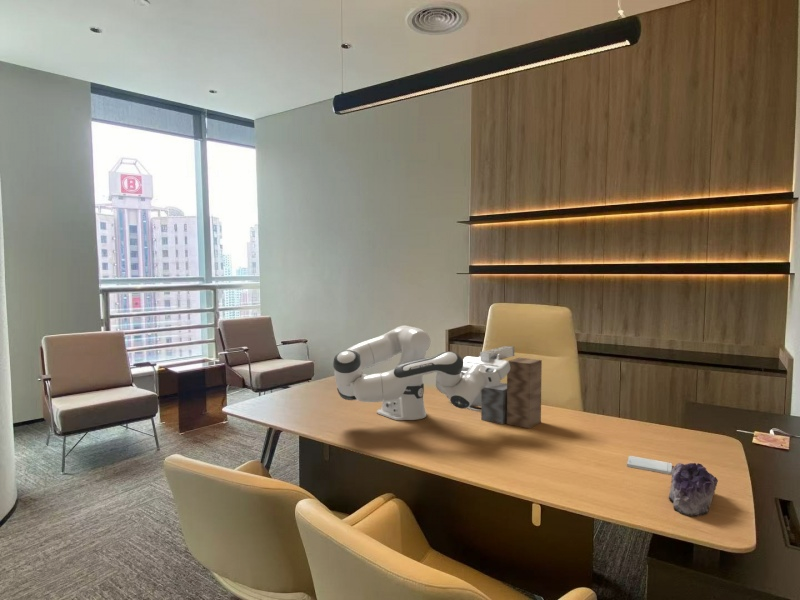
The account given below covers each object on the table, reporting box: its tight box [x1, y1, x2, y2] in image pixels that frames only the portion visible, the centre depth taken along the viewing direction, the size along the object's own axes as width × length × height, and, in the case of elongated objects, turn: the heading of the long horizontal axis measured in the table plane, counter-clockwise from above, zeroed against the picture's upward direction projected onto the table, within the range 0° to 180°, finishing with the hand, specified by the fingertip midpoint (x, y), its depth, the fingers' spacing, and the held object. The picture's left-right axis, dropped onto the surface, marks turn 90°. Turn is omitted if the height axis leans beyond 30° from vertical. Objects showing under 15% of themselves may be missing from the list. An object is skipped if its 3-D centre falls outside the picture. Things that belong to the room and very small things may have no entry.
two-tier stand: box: [480, 357, 543, 429], centre depth 199 cm, size 21×12×26 cm, turn 51°
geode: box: [668, 462, 719, 518], centre depth 127 cm, size 20×12×10 cm, turn 146°
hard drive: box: [626, 455, 673, 476], centre depth 151 cm, size 2×8×12 cm
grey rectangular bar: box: [479, 345, 515, 362], centre depth 198 cm, size 4×22×4 cm, turn 140°
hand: (492, 354), depth 195 cm, fingers closed on grey rectangular bar, 4 cm apart
